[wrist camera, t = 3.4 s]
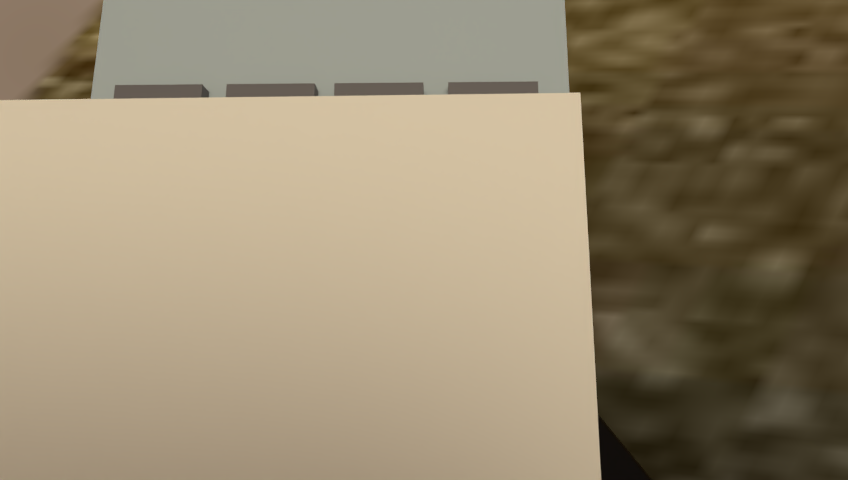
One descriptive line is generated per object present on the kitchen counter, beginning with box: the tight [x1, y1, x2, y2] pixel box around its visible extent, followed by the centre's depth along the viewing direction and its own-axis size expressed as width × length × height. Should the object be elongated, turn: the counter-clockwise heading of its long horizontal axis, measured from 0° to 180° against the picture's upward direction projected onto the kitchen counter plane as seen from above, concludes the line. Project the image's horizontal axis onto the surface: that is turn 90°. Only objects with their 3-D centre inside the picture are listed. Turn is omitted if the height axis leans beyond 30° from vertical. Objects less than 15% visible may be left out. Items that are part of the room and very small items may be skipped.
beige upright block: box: [0, 93, 601, 480], centre depth 9 cm, size 5×4×13 cm
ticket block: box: [91, 0, 569, 99], centre depth 11 cm, size 5×5×10 cm
